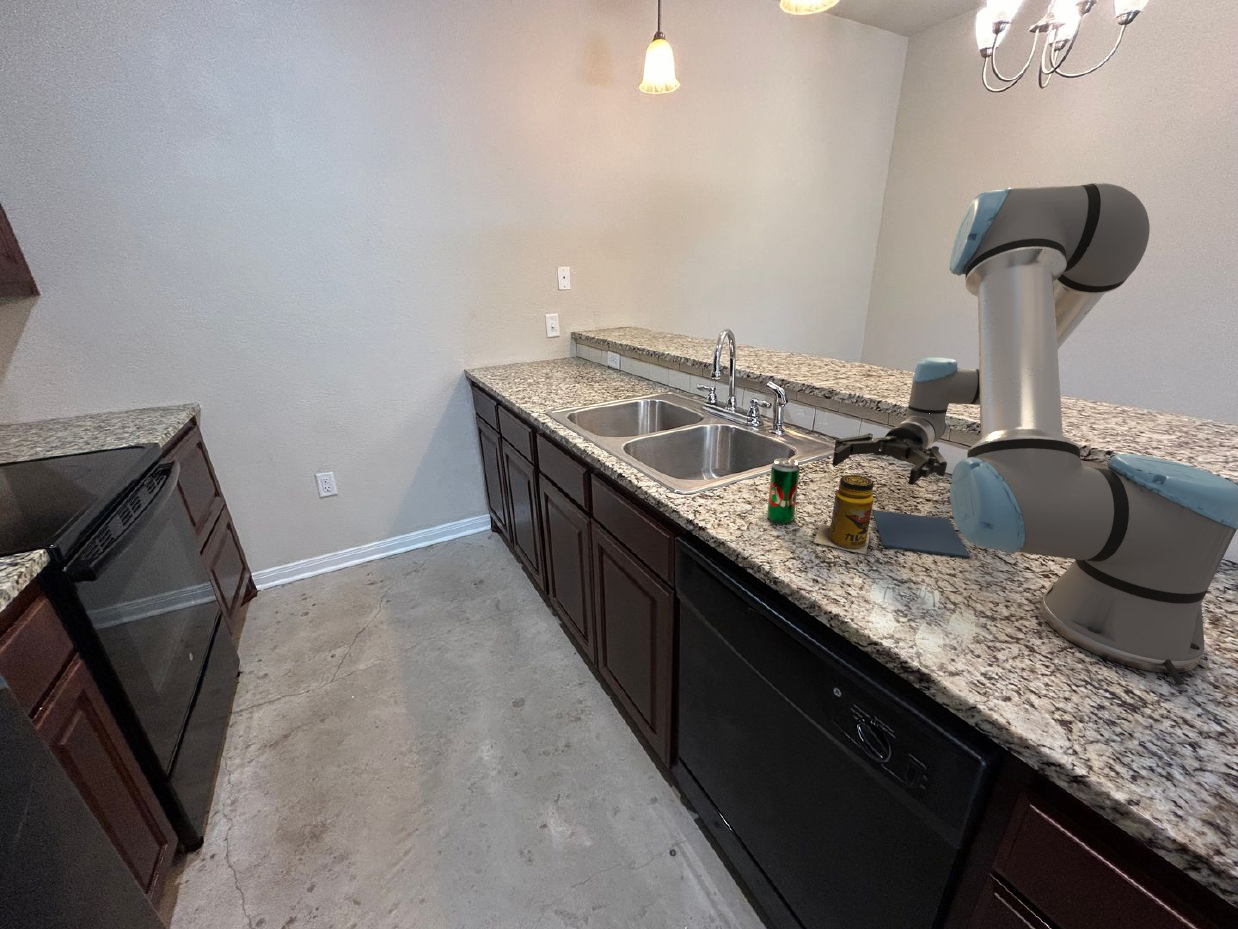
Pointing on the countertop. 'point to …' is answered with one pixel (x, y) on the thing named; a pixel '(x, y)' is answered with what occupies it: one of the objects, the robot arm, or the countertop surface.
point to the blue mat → (919, 533)
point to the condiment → (849, 515)
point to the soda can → (783, 490)
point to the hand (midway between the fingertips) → (871, 467)
